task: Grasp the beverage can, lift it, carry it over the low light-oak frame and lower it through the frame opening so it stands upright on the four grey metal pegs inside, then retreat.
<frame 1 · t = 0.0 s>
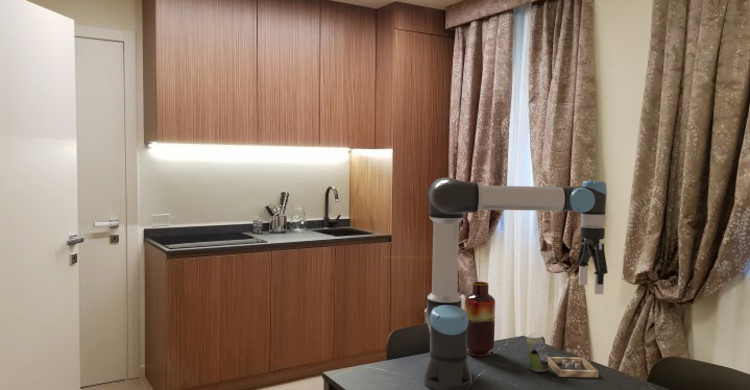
hand: (590, 289, 181), 28 cm above the table, fingers open, 13 cm apart
vase: (478, 353, 198), on the table
peg frame: (571, 369, 183), on the table
beverage can: (537, 370, 182), on the table
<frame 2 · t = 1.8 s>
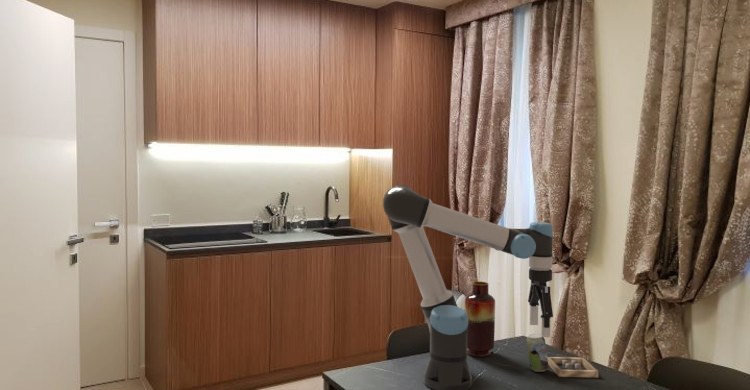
hand: (539, 330, 181), 14 cm above the table, fingers open, 13 cm apart
nothing on the table moved.
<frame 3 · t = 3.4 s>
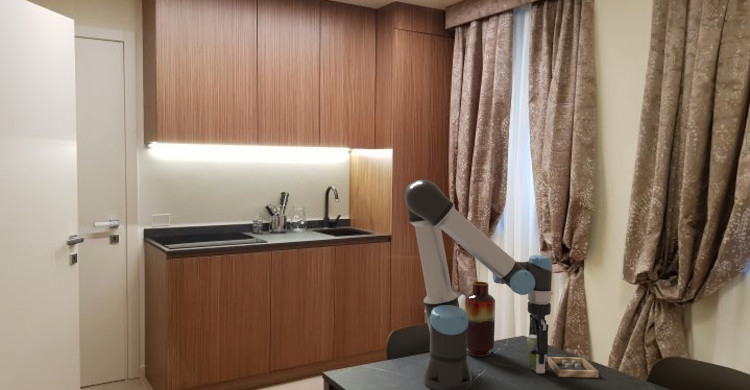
hand: (537, 368, 182), 0 cm above the table, fingers closed on beverage can, 6 cm apart
beverage can: (537, 370, 182), on the table, touching gripper
everything else where it was.
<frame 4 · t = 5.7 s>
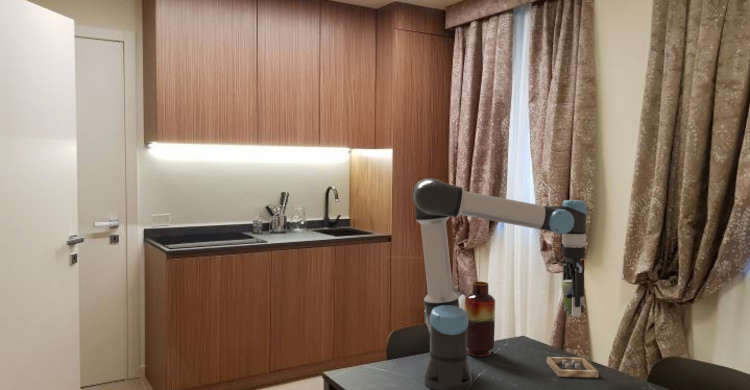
hand: (572, 313, 182), 20 cm above the table, fingers closed on beverage can, 6 cm apart
beverage can: (572, 315, 182), point 19 cm above the table, touching gripper
everything else where it was.
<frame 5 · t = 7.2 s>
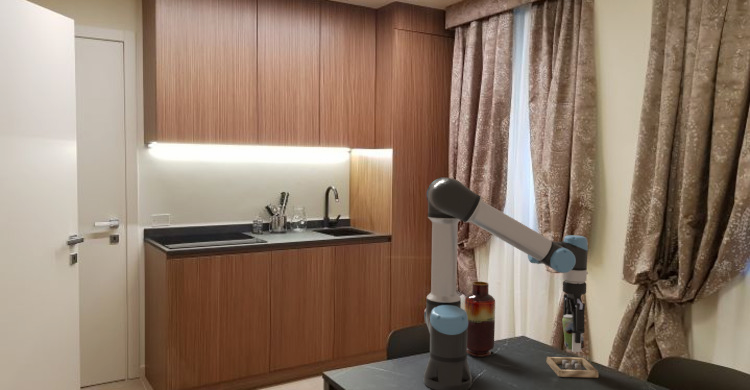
hand: (572, 348, 182), 7 cm above the table, fingers closed on beverage can, 6 cm apart
beverage can: (572, 350, 182), point 7 cm above the table, touching gripper
everything else where it was.
when the fingers open (4 cm above the table, at t = 8.2 s): beverage can drops 1 cm, resting on peg frame.
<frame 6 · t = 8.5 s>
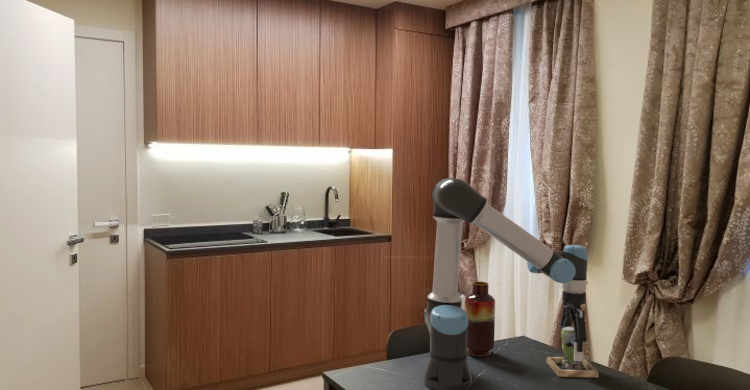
hand: (572, 354, 183), 5 cm above the table, fingers open, 11 cm apart
beverage can: (571, 362, 183), point 2 cm above the table, touching peg frame
everything else where it was.
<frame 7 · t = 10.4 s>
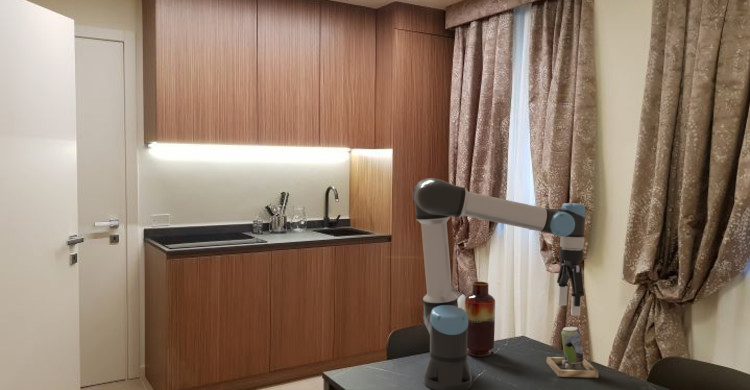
hand: (568, 310, 183), 20 cm above the table, fingers open, 13 cm apart
nothing on the table moved.
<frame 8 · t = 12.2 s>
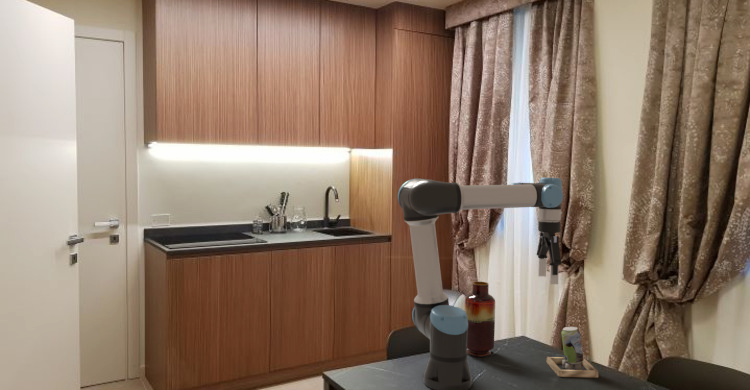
hand: (547, 280, 192), 29 cm above the table, fingers open, 13 cm apart
nothing on the table moved.
at the end: beverage can 0.1 cm from the peg frame (horizontally); beverage can tilted 0°; beverage can touching peg frame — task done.
